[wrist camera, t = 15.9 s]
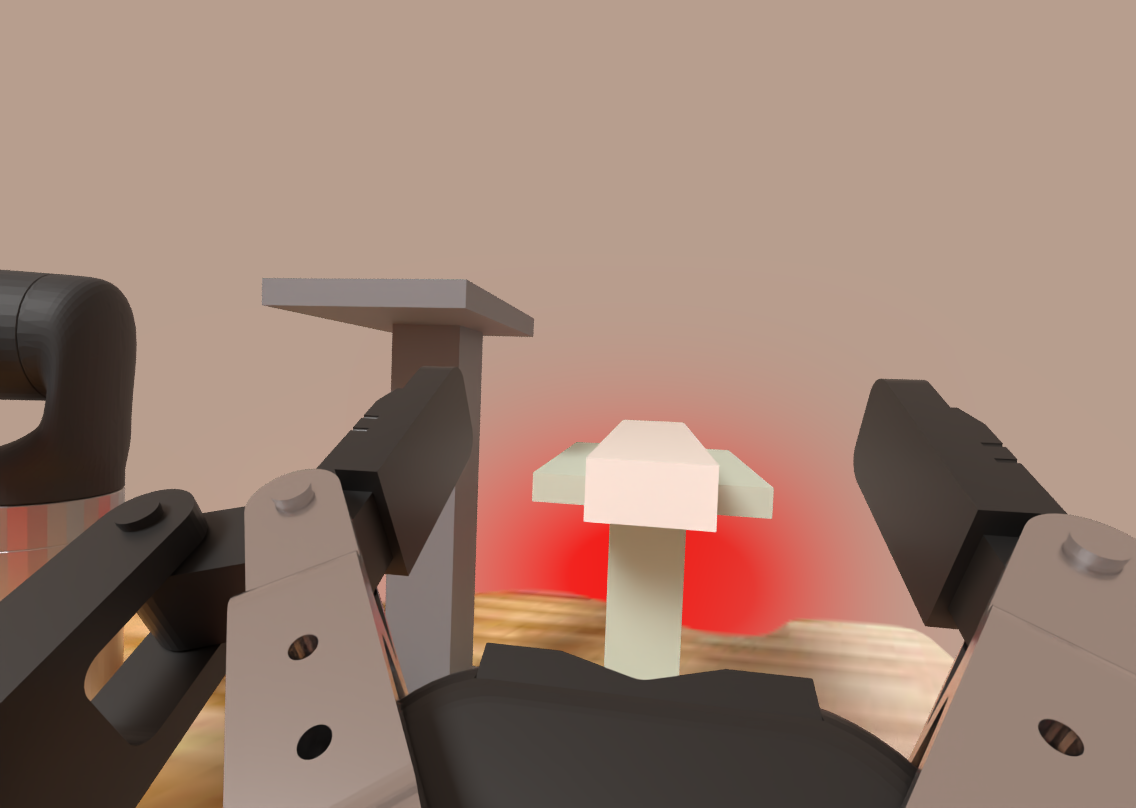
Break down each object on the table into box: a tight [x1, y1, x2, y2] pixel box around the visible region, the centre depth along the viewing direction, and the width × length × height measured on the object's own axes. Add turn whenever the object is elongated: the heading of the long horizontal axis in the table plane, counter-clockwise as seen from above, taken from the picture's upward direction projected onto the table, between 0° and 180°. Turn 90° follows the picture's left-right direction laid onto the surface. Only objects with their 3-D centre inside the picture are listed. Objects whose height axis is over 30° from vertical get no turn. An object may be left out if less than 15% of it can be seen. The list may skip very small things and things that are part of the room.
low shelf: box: [532, 442, 774, 680], centre depth 36 cm, size 18×14×22 cm
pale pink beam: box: [584, 420, 719, 532], centre depth 29 cm, size 22×4×2 cm, turn 171°
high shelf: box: [262, 278, 534, 694], centre depth 39 cm, size 18×14×32 cm
